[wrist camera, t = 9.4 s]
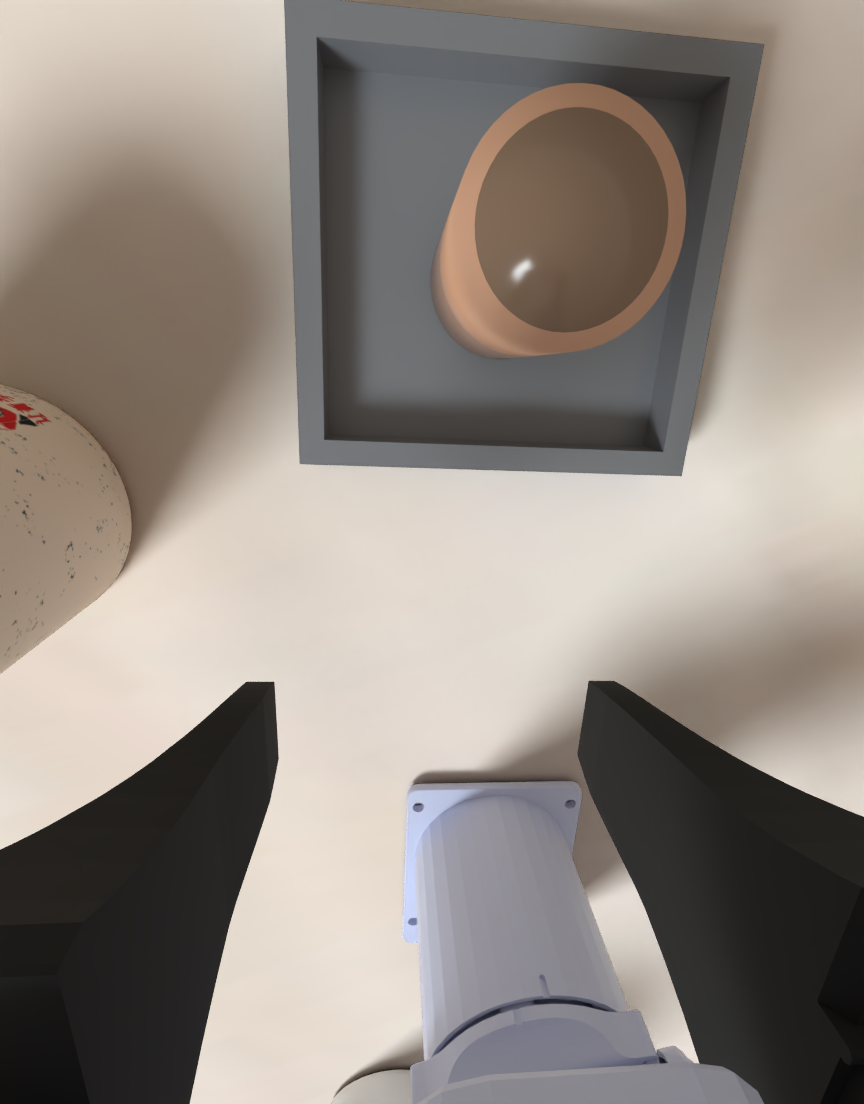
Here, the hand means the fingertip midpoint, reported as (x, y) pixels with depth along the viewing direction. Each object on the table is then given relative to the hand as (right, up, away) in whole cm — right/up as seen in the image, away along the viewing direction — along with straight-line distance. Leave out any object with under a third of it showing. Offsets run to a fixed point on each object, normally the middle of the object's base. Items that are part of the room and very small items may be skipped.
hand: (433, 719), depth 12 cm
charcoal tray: (+2, +13, +6) cm, 14 cm away
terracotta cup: (+2, +13, +5) cm, 14 cm away
